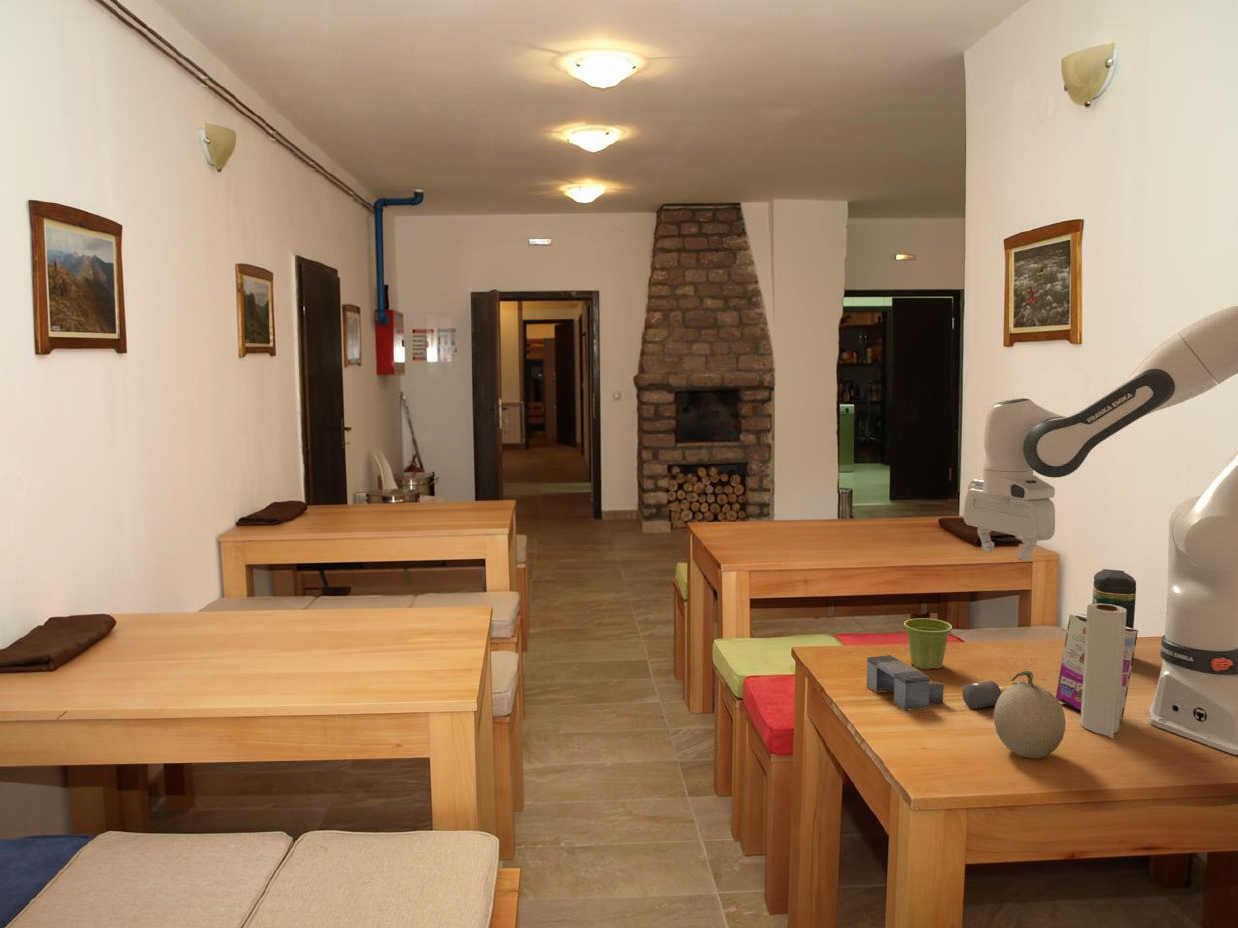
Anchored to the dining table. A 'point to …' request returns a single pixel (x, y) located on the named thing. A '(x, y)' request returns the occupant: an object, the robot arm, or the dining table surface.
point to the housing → (902, 682)
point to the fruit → (1029, 719)
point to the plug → (983, 694)
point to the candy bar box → (1074, 663)
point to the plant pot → (927, 641)
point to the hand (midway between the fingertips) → (1005, 555)
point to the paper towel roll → (1103, 668)
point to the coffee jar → (1116, 591)
